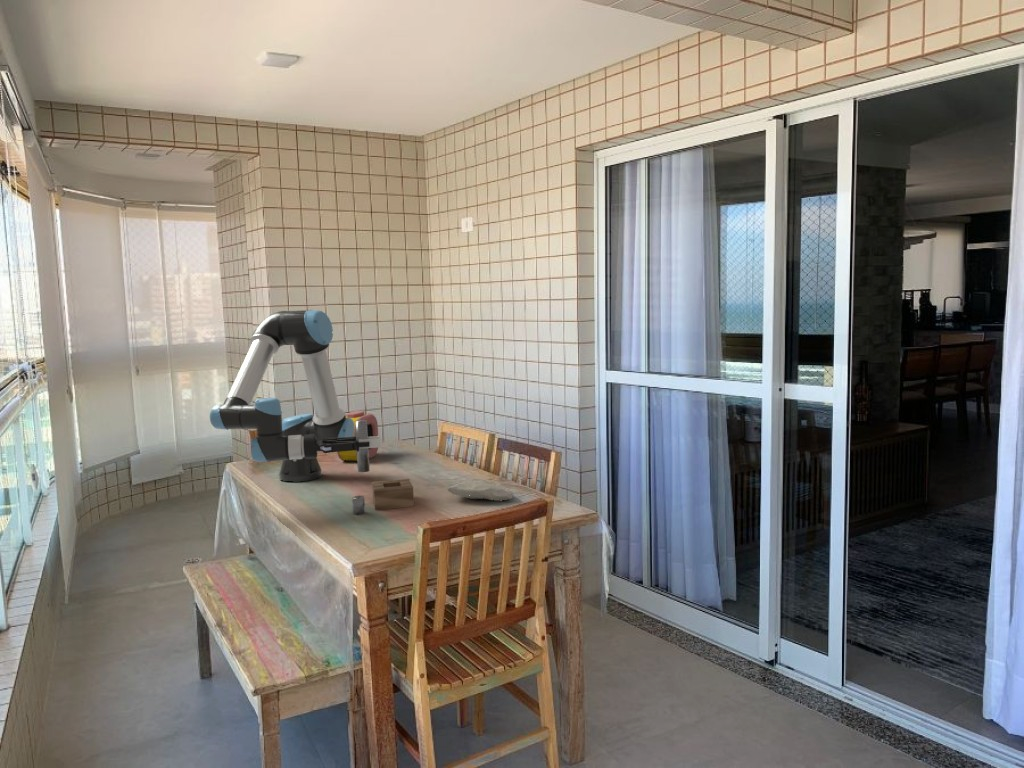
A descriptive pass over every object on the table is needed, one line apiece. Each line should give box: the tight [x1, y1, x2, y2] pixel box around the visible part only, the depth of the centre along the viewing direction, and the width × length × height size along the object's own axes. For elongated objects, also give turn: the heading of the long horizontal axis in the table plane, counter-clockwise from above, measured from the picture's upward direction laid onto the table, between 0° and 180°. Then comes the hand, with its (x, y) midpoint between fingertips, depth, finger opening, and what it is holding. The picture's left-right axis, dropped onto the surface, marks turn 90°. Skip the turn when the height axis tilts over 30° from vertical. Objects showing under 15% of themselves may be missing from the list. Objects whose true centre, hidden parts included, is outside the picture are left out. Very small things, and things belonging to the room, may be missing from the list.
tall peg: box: [355, 420, 370, 473], centre depth 243 cm, size 4×4×16 cm
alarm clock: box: [336, 410, 379, 462], centre depth 314 cm, size 18×11×19 cm, turn 164°
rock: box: [447, 479, 514, 502], centre depth 249 cm, size 24×6×20 cm
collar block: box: [371, 478, 415, 511], centre depth 246 cm, size 12×12×6 cm
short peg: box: [351, 495, 366, 516], centre depth 236 cm, size 4×4×5 cm
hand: (379, 441), depth 244 cm, fingers closed on tall peg, 3 cm apart
